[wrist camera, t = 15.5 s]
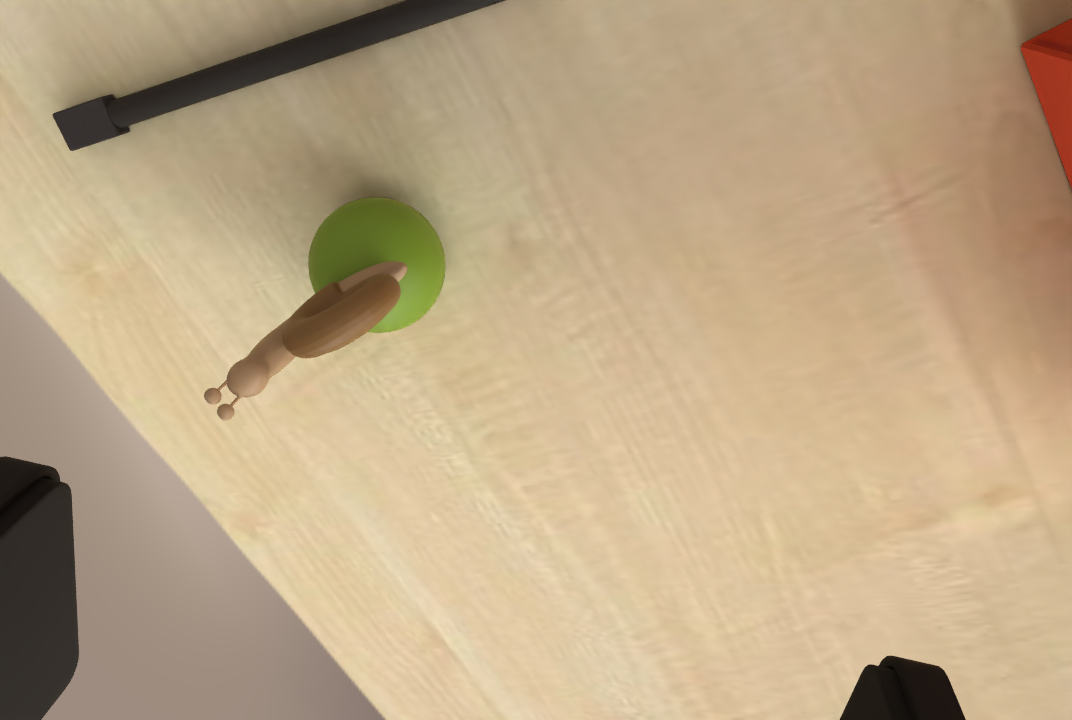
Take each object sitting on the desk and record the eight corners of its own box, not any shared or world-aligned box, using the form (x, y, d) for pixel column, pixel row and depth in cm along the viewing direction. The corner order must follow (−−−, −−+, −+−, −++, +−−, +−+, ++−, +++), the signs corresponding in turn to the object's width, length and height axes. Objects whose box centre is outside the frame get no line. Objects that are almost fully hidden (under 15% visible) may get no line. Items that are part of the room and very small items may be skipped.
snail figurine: (291, 233, 39) (154, 344, 28) (410, 159, 37) (313, 247, 26) (363, 333, 40) (260, 475, 30) (480, 268, 38) (416, 394, 28)
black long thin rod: (84, 146, 38) (69, 152, 37) (66, 109, 38) (50, 114, 37) (562, -12, 33) (559, -10, 32) (550, -57, 33) (546, -57, 32)
